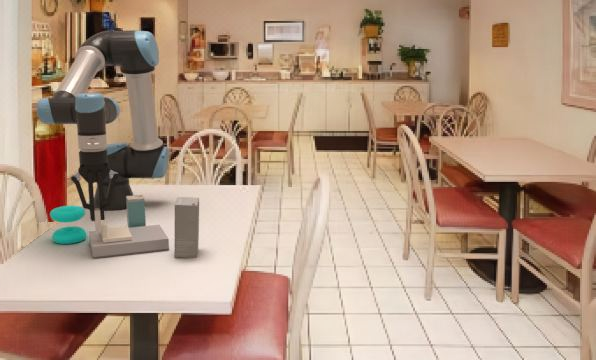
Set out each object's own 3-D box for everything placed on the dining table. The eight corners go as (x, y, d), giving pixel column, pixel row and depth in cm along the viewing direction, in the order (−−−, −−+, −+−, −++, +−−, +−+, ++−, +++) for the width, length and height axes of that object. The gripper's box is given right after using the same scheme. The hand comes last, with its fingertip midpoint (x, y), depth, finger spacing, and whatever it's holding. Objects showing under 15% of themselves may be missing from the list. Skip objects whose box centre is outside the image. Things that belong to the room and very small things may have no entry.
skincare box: (176, 249, 181) (174, 196, 178) (201, 248, 182) (199, 196, 178) (173, 258, 173) (171, 203, 170) (199, 258, 173) (197, 203, 170)
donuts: (70, 203, 194) (91, 207, 189) (72, 233, 196) (93, 238, 191) (42, 209, 186) (64, 214, 181) (45, 241, 188) (66, 247, 183)
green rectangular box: (128, 232, 197) (125, 196, 195) (144, 231, 199) (142, 194, 197) (129, 237, 193) (127, 199, 190) (146, 235, 195) (144, 198, 192)
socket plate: (89, 242, 187) (88, 231, 186) (159, 235, 195) (159, 224, 194) (93, 258, 173) (92, 246, 172) (168, 250, 180) (168, 238, 179)
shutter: (99, 231, 186) (98, 218, 185) (127, 228, 189) (126, 216, 188) (103, 242, 175) (102, 229, 174) (132, 239, 178) (131, 226, 177)
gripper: (68, 153, 166) (74, 237, 171) (118, 150, 171) (123, 232, 176) (67, 148, 173) (73, 230, 178) (116, 146, 178) (120, 225, 182)
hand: (98, 231), depth 177 cm, fingers closed
